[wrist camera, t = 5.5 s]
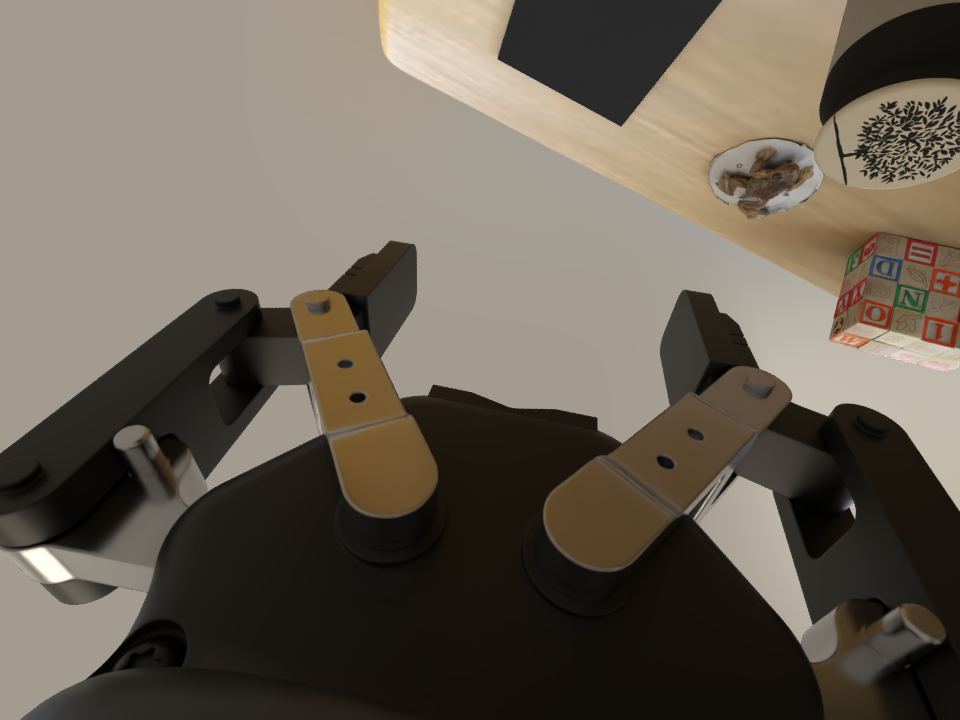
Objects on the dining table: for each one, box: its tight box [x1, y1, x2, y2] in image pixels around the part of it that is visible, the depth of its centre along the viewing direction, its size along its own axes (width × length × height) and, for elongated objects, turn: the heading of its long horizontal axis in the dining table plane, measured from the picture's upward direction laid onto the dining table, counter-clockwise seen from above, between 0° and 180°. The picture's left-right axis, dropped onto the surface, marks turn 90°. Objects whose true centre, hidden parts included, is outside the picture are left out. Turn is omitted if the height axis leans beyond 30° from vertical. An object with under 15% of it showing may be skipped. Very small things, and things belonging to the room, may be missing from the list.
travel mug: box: [814, 0, 960, 189], centre depth 26 cm, size 8×8×18 cm
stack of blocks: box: [829, 233, 960, 372], centre depth 52 cm, size 21×6×12 cm, turn 102°
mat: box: [498, 0, 722, 126], centre depth 41 cm, size 20×16×1 cm
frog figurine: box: [708, 139, 823, 219], centre depth 51 cm, size 12×12×4 cm
